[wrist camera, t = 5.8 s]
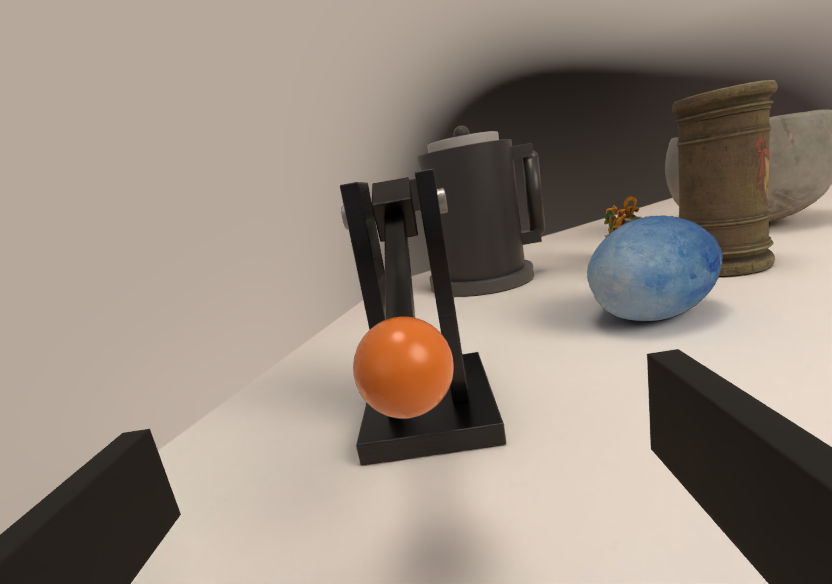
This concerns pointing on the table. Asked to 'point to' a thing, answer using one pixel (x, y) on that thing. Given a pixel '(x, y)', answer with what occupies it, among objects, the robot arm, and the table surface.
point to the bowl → (786, 162)
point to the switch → (400, 323)
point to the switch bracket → (470, 390)
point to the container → (728, 171)
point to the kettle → (484, 209)
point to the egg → (654, 268)
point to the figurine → (621, 216)
